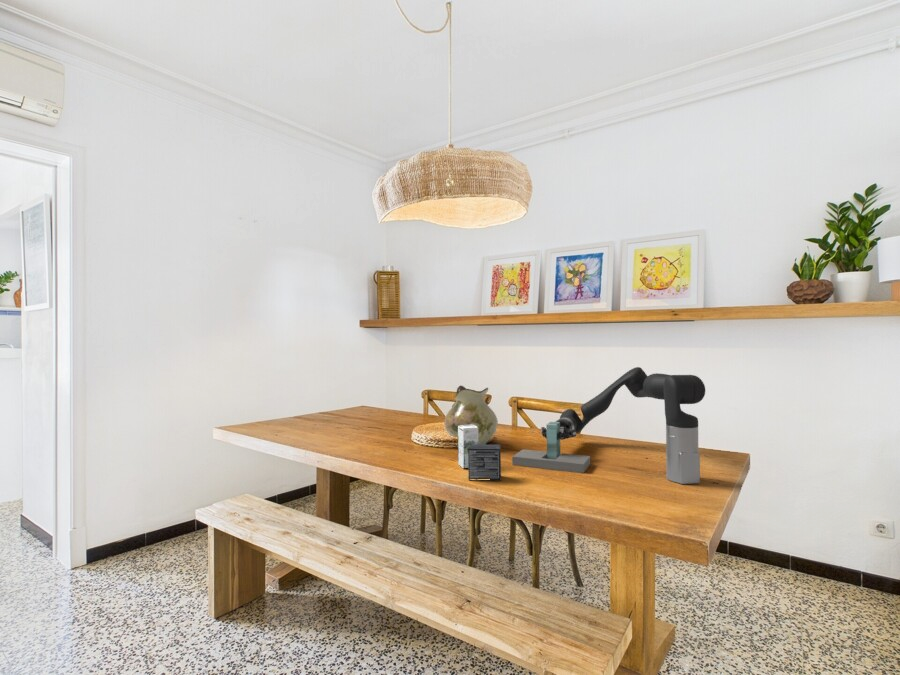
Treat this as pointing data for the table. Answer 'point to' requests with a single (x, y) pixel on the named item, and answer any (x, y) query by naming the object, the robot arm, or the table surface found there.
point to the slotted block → (551, 461)
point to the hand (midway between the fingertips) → (552, 436)
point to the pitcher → (471, 414)
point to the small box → (484, 462)
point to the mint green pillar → (553, 440)
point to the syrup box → (466, 442)
